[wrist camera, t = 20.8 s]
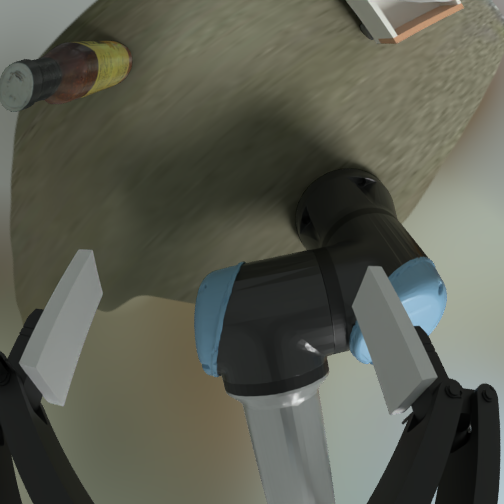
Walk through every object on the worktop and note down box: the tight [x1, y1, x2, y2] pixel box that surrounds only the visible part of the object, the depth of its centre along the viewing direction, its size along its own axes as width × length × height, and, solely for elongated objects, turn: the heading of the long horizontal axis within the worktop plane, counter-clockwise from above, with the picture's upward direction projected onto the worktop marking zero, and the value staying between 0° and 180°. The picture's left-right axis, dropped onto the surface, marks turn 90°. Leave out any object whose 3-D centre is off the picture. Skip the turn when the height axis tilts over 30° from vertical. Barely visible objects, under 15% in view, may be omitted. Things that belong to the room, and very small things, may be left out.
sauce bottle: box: [0, 41, 132, 112], centre depth 23 cm, size 6×6×20 cm
